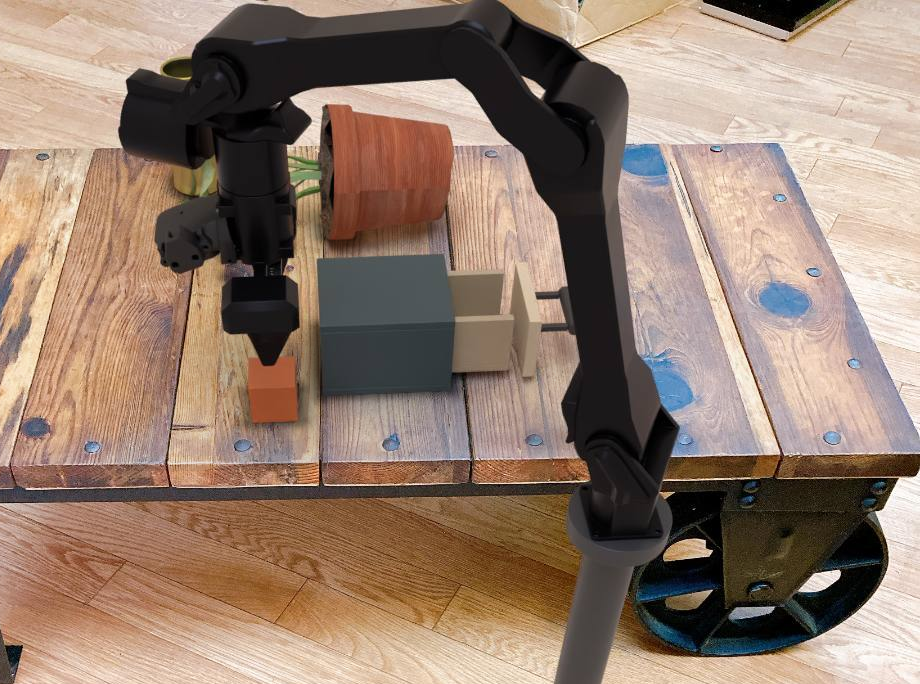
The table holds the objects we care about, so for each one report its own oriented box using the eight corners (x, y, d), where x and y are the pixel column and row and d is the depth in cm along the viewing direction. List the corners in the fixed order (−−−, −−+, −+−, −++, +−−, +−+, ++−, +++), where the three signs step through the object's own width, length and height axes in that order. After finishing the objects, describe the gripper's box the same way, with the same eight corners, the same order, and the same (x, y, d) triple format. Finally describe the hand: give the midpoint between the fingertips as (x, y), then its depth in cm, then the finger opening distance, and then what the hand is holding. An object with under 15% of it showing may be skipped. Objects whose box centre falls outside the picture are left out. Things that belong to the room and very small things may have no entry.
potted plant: (424, 196, 134) (129, 196, 129) (441, 78, 122) (117, 73, 117) (445, 280, 125) (128, 284, 119) (466, 161, 113) (115, 159, 107)
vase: (165, 178, 134) (146, 62, 123) (211, 163, 136) (196, 49, 125) (187, 202, 130) (170, 86, 119) (233, 187, 132) (221, 71, 121)
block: (298, 421, 106) (295, 386, 103) (252, 423, 106) (248, 388, 103) (297, 390, 109) (294, 355, 106) (252, 392, 109) (248, 357, 105)
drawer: (563, 314, 115) (572, 260, 110) (579, 374, 109) (589, 319, 104) (410, 320, 115) (412, 265, 109) (418, 381, 109) (420, 326, 103)
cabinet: (440, 322, 116) (444, 253, 109) (450, 390, 109) (455, 321, 102) (320, 327, 115) (316, 258, 109) (323, 396, 108) (319, 326, 102)
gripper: (160, 121, 94) (184, 273, 106) (143, 250, 82) (173, 405, 94) (290, 116, 95) (300, 268, 107) (293, 244, 83) (304, 399, 95)
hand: (268, 331), depth 100 cm, fingers open, 9 cm apart
